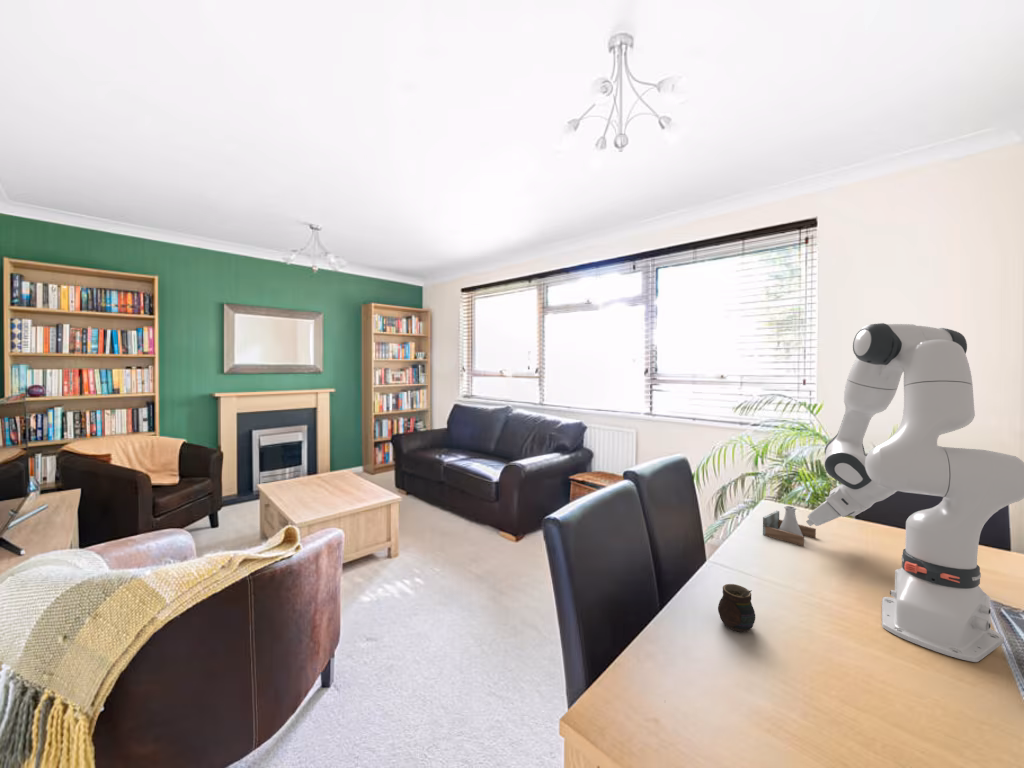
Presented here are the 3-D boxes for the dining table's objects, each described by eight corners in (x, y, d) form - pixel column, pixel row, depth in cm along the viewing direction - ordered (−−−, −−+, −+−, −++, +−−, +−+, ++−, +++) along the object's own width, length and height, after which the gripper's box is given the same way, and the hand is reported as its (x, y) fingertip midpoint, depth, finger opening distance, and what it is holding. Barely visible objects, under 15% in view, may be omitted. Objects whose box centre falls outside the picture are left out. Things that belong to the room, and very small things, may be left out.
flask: (772, 533, 141) (772, 505, 141) (787, 531, 144) (788, 503, 143) (792, 541, 134) (792, 511, 134) (808, 539, 137) (808, 509, 136)
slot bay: (802, 546, 131) (803, 527, 131) (762, 534, 140) (763, 517, 140) (815, 537, 138) (815, 519, 138) (776, 527, 147) (776, 510, 147)
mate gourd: (734, 612, 94) (735, 570, 94) (764, 632, 87) (765, 586, 87) (710, 619, 92) (711, 576, 91) (739, 640, 85) (741, 593, 84)
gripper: (848, 486, 134) (812, 508, 142) (827, 496, 122) (789, 520, 130) (865, 503, 130) (828, 525, 138) (846, 515, 118) (806, 538, 126)
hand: (809, 523), depth 134 cm, fingers closed
